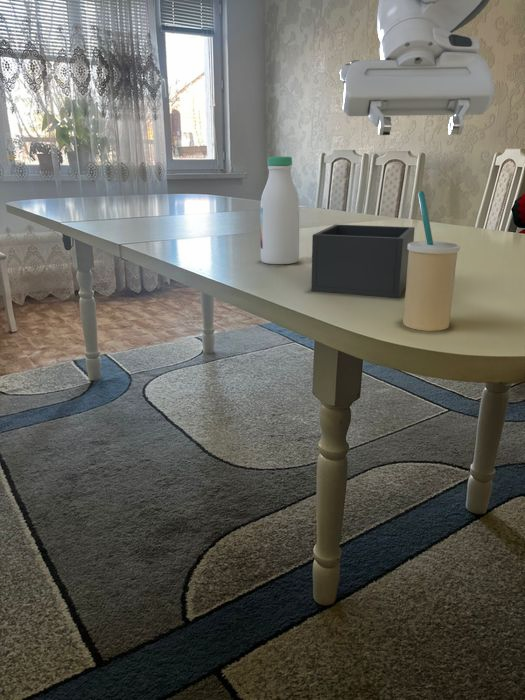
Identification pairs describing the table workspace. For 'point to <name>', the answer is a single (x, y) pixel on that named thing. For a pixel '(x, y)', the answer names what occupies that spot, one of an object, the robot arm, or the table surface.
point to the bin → (361, 260)
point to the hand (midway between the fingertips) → (420, 131)
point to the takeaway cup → (429, 280)
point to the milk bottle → (279, 214)
